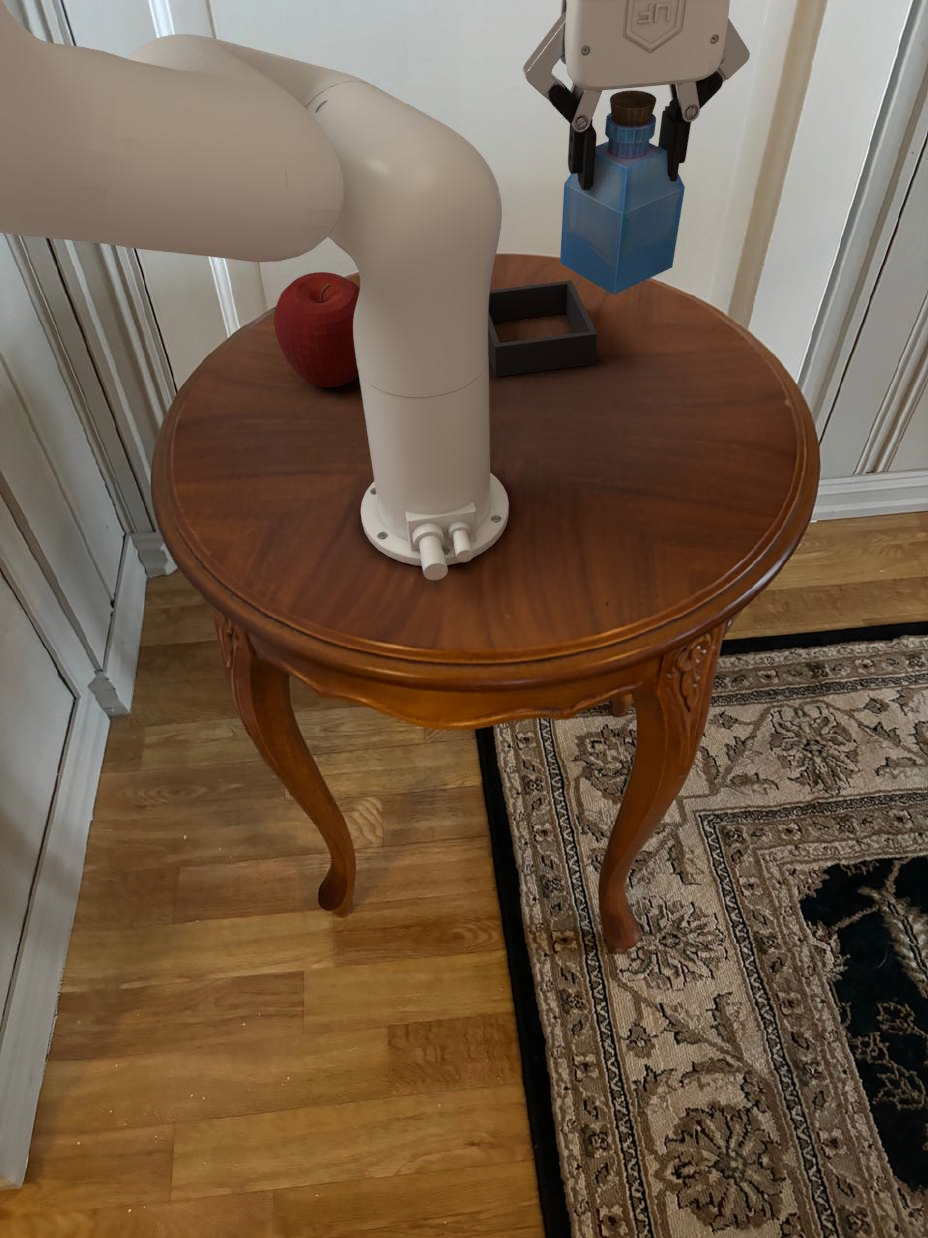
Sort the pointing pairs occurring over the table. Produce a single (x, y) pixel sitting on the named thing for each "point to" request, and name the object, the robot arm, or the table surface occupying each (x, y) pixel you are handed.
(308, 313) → the apple
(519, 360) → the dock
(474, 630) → the table surface
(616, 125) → the perfume bottle
